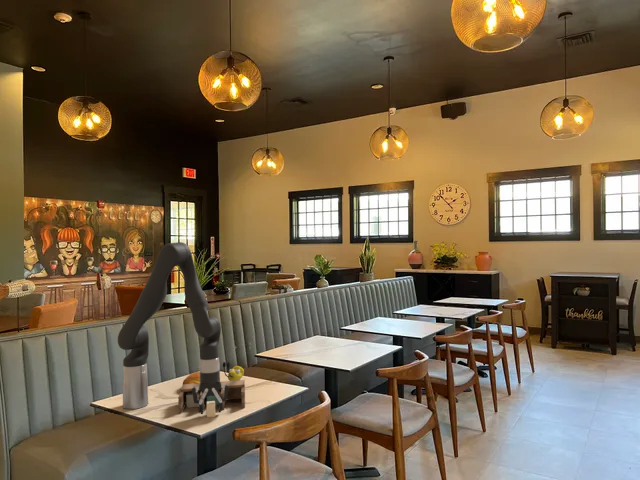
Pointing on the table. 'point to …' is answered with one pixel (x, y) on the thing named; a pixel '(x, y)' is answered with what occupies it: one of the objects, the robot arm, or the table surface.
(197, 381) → the croissant
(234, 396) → the lane shelf
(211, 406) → the block
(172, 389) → the table surface
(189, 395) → the plain block
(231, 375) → the toy
